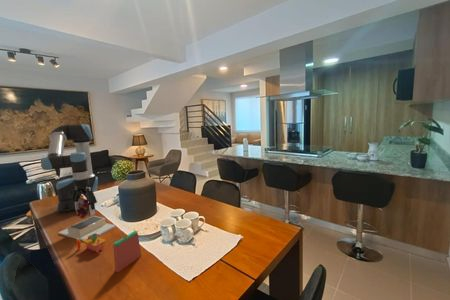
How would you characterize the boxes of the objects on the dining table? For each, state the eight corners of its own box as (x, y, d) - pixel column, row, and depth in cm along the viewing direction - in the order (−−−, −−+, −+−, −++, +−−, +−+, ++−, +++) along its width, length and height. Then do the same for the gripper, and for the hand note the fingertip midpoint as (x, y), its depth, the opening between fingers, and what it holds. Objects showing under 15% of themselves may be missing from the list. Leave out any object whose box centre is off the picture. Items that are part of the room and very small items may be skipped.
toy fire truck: (84, 220, 121) (81, 202, 120) (74, 215, 128) (72, 199, 127) (97, 215, 127) (94, 198, 126) (87, 211, 134) (85, 195, 133)
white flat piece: (88, 220, 142) (87, 213, 142) (115, 226, 132) (115, 218, 131) (58, 233, 126) (57, 225, 125) (87, 242, 116) (86, 233, 115)
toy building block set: (118, 272, 91) (114, 242, 89) (73, 252, 108) (69, 225, 106) (141, 256, 102) (138, 228, 100) (97, 239, 119) (94, 215, 117)
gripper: (61, 178, 126) (66, 212, 129) (88, 181, 116) (93, 218, 119) (74, 175, 133) (78, 208, 136) (101, 178, 123) (105, 213, 126)
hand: (85, 213), depth 128 cm, fingers closed on toy fire truck, 12 cm apart
